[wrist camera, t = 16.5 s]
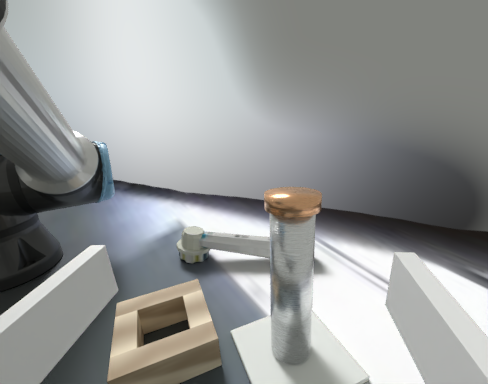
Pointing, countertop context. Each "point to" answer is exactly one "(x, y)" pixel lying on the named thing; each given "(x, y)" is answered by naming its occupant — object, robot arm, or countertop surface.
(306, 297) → the steel plug
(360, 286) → the countertop surface
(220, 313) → the countertop surface
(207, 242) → the toothbrush head
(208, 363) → the bore block
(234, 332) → the rubber mat
